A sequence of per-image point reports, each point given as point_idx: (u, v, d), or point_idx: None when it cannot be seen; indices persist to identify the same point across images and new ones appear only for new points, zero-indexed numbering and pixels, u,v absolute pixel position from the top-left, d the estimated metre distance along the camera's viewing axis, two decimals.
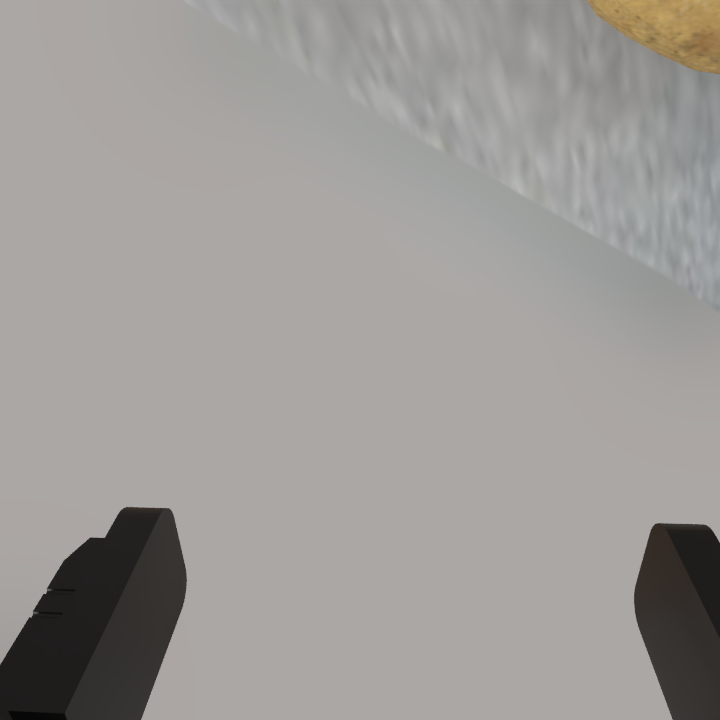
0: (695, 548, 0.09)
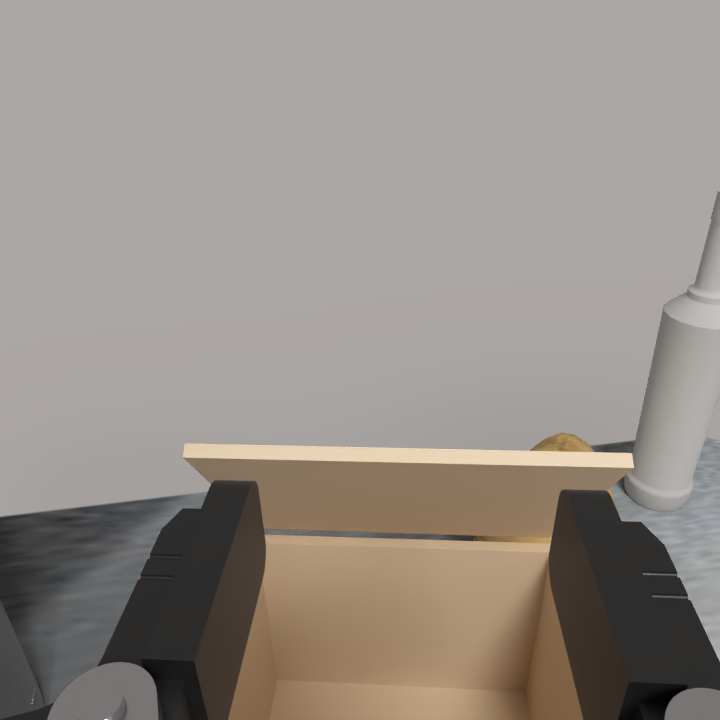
0: (591, 510, 0.10)
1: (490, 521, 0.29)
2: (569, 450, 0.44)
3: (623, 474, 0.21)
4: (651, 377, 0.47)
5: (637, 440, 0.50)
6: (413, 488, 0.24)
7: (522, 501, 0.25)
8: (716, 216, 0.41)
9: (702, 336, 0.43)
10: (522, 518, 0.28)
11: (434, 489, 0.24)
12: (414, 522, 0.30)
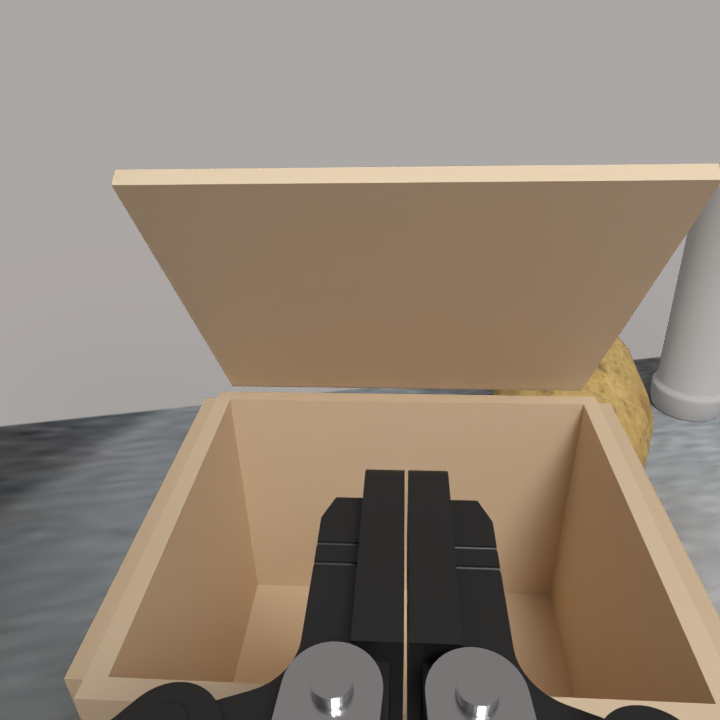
0: (425, 488, 0.10)
1: (513, 351, 0.24)
2: None
3: (704, 201, 0.16)
4: (684, 262, 0.42)
5: (666, 341, 0.45)
6: (420, 262, 0.19)
7: (558, 292, 0.20)
8: None
9: None
10: (554, 340, 0.23)
11: (447, 264, 0.19)
12: (419, 359, 0.25)
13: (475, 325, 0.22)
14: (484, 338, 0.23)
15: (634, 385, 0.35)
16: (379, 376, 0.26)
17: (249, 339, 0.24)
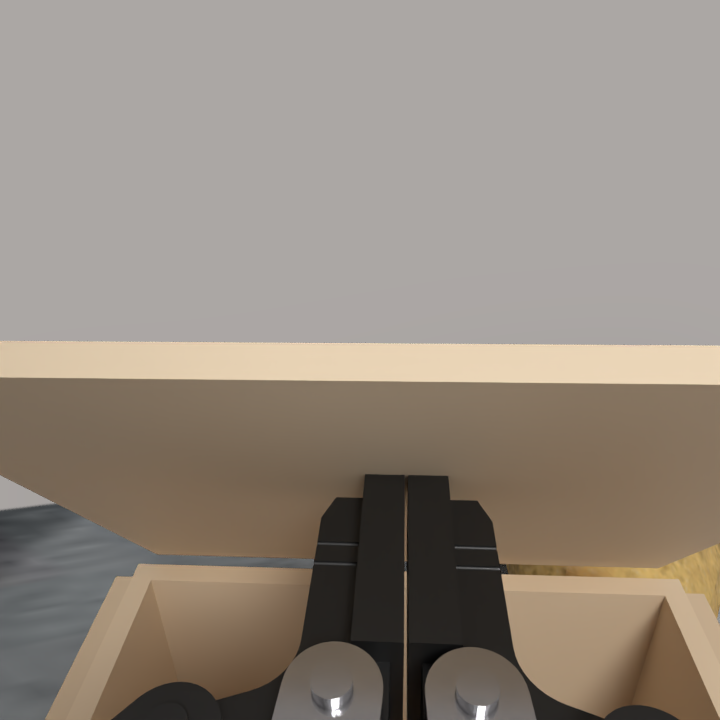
0: (425, 489, 0.10)
1: (570, 541, 0.15)
2: None
3: None
4: None
5: None
6: (431, 469, 0.10)
7: (665, 499, 0.12)
8: None
9: None
10: (637, 535, 0.15)
11: (479, 471, 0.10)
12: None
13: (516, 522, 0.14)
14: (527, 531, 0.15)
15: None
16: None
17: (164, 524, 0.15)
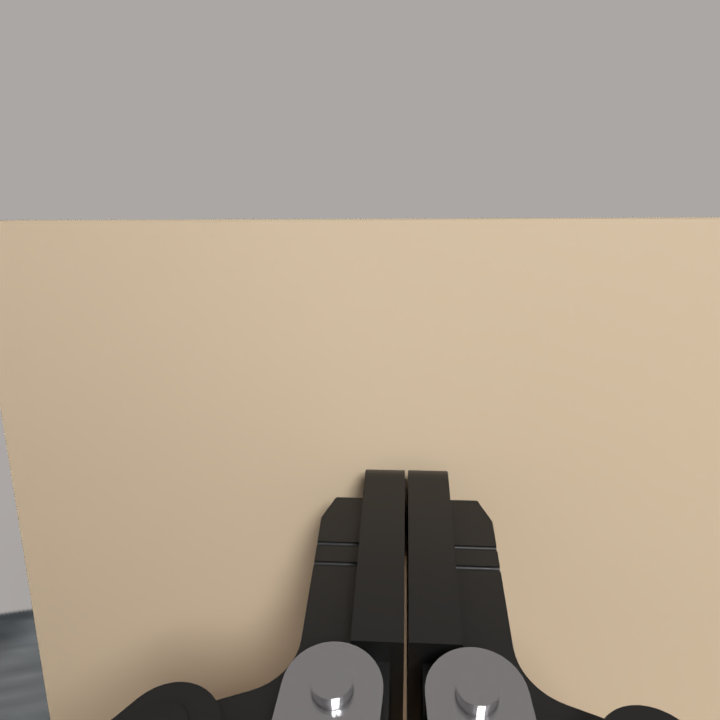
0: (425, 489, 0.10)
1: (607, 697, 0.13)
2: None
3: None
4: None
5: None
6: (428, 418, 0.11)
7: (669, 508, 0.11)
8: None
9: None
10: (679, 661, 0.12)
11: (473, 423, 0.11)
12: None
13: (530, 608, 0.12)
14: (549, 651, 0.12)
15: None
16: None
17: (119, 646, 0.13)
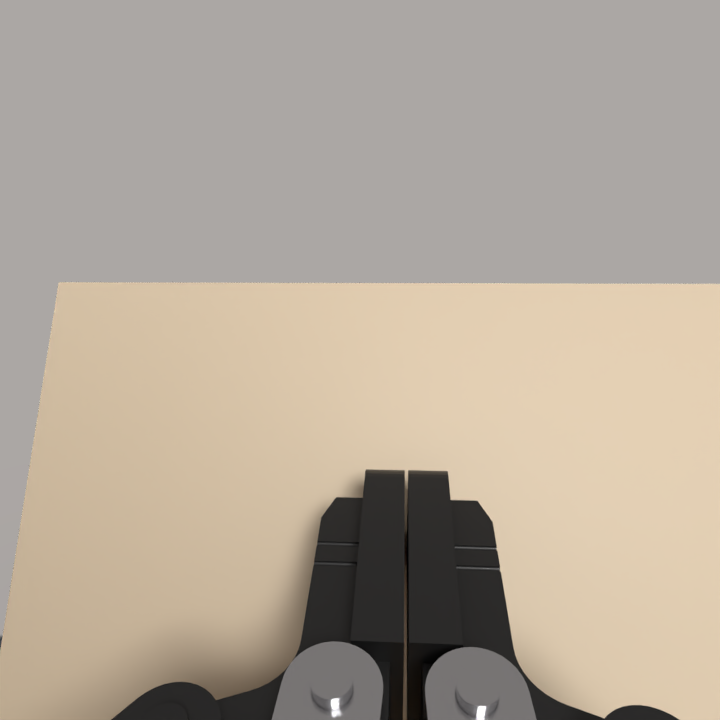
0: (425, 489, 0.10)
1: None
2: None
3: None
4: None
5: None
6: (421, 447, 0.12)
7: (658, 542, 0.12)
8: None
9: None
10: None
11: (462, 453, 0.12)
12: None
13: (534, 664, 0.11)
14: None
15: None
16: None
17: (80, 717, 0.12)
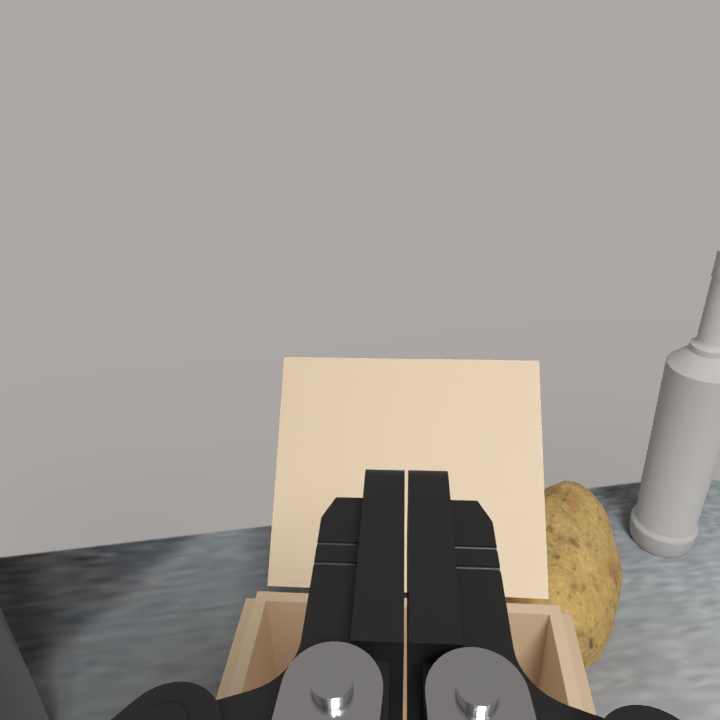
0: (425, 489, 0.10)
1: None
2: (572, 501, 0.44)
3: (537, 373, 0.37)
4: (655, 426, 0.48)
5: (642, 486, 0.51)
6: (415, 416, 0.36)
7: (493, 447, 0.36)
8: (716, 274, 0.42)
9: (704, 390, 0.44)
10: (505, 507, 0.35)
11: (429, 418, 0.36)
12: None
13: (451, 485, 0.35)
14: None
15: (604, 555, 0.41)
16: None
17: (303, 502, 0.36)
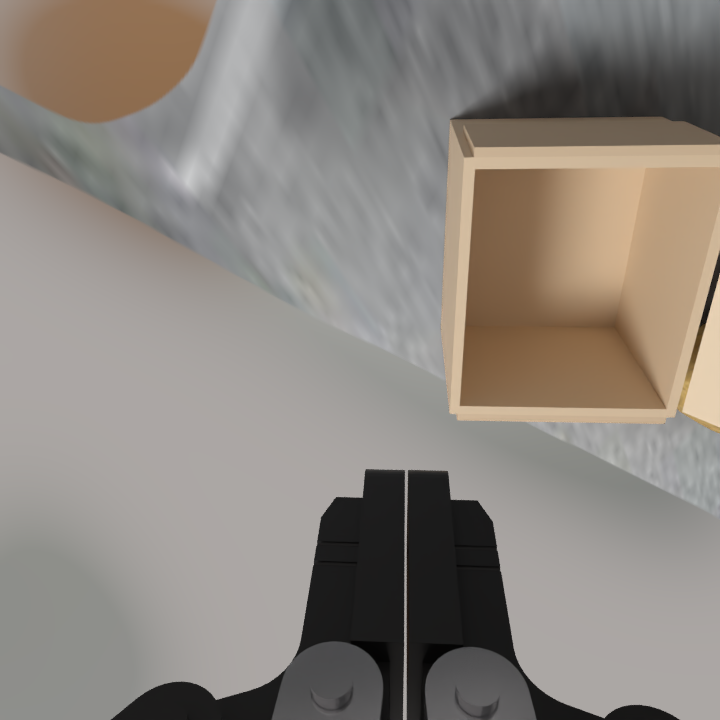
0: (425, 489, 0.10)
1: None
2: None
3: None
4: None
5: None
6: None
7: None
8: None
9: None
10: None
11: None
12: None
13: None
14: None
15: None
16: None
17: None
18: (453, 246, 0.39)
